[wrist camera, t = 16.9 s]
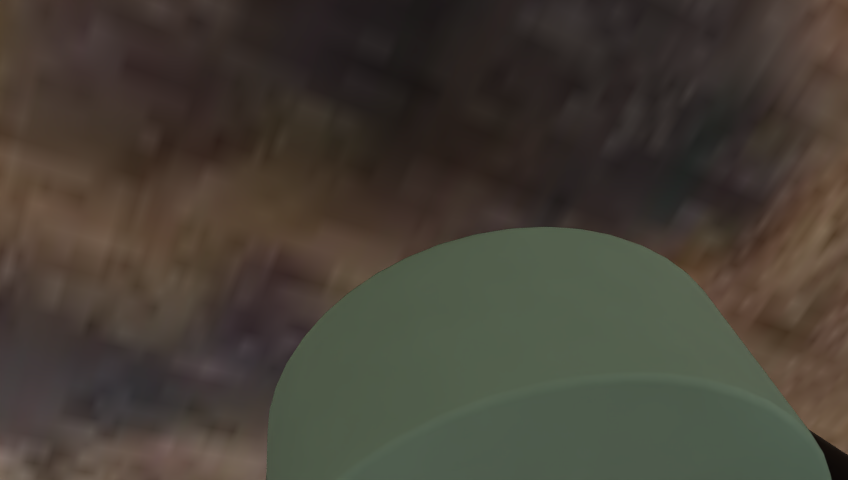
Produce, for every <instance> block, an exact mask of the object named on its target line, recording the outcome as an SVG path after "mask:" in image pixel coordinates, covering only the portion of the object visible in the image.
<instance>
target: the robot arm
mask: <svg viewBox="0 0 848 480" xmlns="http://www.w3.org/2000/svg"><path fill="white" fill-rule="evenodd" d="M808 430H809V429H808ZM809 431H810V430H809ZM810 433H811V434H812V436H813V437H814V439H815V440H816V442H817V444H818V445H819V447H820V448H821V450H822V452H823V453H824V456H825V459H826V462H827V465H828V469H829V472H830V475H831V480H848V455H847V454H845V453H844V452H842V451H841V450H839V449H838V448H836V447H835V446H833V445H831V444H830V443H828V442H827V441H825V440H824V439H822V438H821V437H819V436H818V435H816V434H815V433H813V432H812V431H810Z"/></svg>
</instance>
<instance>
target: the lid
mask: <svg viewBox="0 0 848 480" xmlns="http://www.w3.org/2000/svg"><path fill="white" fill-rule="evenodd" d="M266 480H831V475H830V472H829V469H828V465H827V462H826V459H825V456H824V453H823V452H822V450H821V448H820V447H819V445H818V444H817V442H816V440H815V439H814V437H813V436H812V434H811V433H810V431H809V430H808V429H807V427H806V426H805V425H804V423H803V422H802V421H801V419H800V418H799V417H798V415H797V414H796V413H795V411H794V410H793V409H792V407H791V406H790V405H789V403H788V402H787V401H786V399H785V398H784V397H783V395H782V394H781V393H780V391H779V390H778V389H777V387H776V386H775V385H774V383H773V382H772V381H771V379H770V378H769V377H768V375H767V374H766V373H765V371H764V370H763V369H762V367H761V366H760V365H759V363H758V362H757V361H756V359H755V358H754V357H753V356H752V354H751V353H750V352H749V350H748V349H747V348H746V346H745V345H744V344H743V342H742V341H741V340H740V338H739V337H738V336H737V334H736V333H735V332H734V330H733V329H732V328H731V326H730V325H729V324H728V322H727V321H726V320H725V318H724V317H723V316H722V314H721V313H720V312H719V310H718V309H717V308H716V306H715V305H714V304H713V302H712V301H711V300H710V298H709V297H708V296H707V294H706V293H705V292H704V291H703V289H702V288H701V287H700V286H699V285H698V284H697V283H696V282H695V281H694V280H693V279H692V278H691V277H690V276H689V275H688V274H687V273H686V272H685V271H683V270H682V269H681V268H679V267H678V266H676V265H675V264H674V263H672V262H671V261H670V260H668V259H667V258H665V257H663V256H661V255H659V254H657V253H655V252H653V251H651V250H649V249H648V248H646V247H644V246H642V245H639V244H636V243H633V242H630V241H627V240H624V239H621V238H618V237H615V236H612V235H609V234H603V233H598V232H593V231H588V230H582V229H574V228H558V227H530V228H511V229H505V230H499V231H493V232H487V233H481V234H475V235H471V236H468V237H464V238H461V239H457V240H453V241H450V242H446V243H443V244H440V245H437V246H435V247H432V248H430V249H427V250H424V251H422V252H419V253H417V254H414V255H412V256H409V257H407V258H405V259H403V260H401V261H399V262H398V263H396V264H394V265H392V266H390V267H388V268H386V269H384V270H382V271H381V272H379V273H377V274H375V275H374V276H372V277H371V278H369V279H368V280H367V281H365V282H364V283H362V284H361V285H359V286H358V287H356V288H355V289H353V290H352V291H350V292H349V293H348V294H347V295H345V296H344V297H343V298H342V299H341V300H340V301H339V302H338V303H336V304H335V305H334V306H333V307H332V308H331V309H330V310H328V311H327V312H326V313H325V314H324V315H323V316H322V317H321V318H320V320H319V321H318V322H317V323H316V324H315V325H314V326H313V328H312V329H311V330H310V331H309V332H308V333H307V334H306V335H305V337H304V338H303V339H302V341H301V342H300V344H299V346H298V347H297V349H296V350H295V352H294V353H293V355H292V356H291V358H290V359H289V361H288V362H287V364H286V366H285V368H284V371H283V373H282V375H281V377H280V379H279V382H278V384H277V386H276V388H275V392H274V396H273V400H272V404H271V407H270V411H269V423H268V439H267V473H266Z"/></svg>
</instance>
